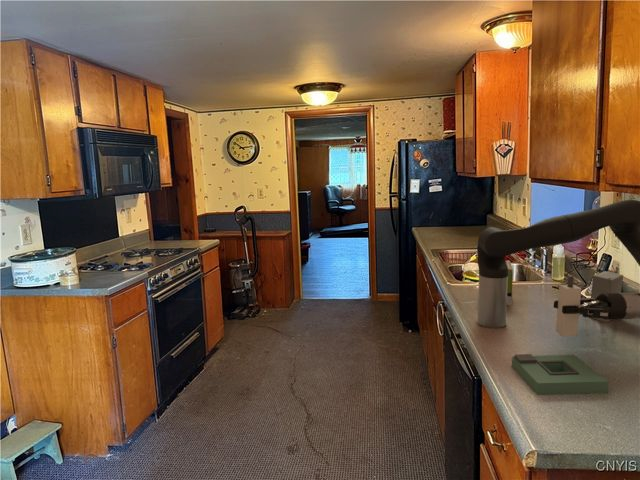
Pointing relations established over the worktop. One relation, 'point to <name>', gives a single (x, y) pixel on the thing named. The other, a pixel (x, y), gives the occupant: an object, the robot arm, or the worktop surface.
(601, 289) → the skincare box
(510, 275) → the tea box
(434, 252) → the worktop surface
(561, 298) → the plug
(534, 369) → the green square socket base
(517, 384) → the worktop surface
